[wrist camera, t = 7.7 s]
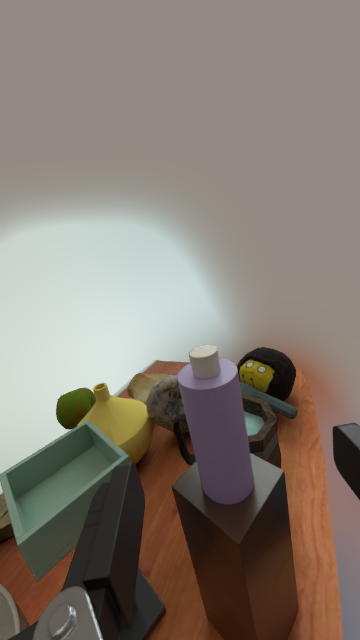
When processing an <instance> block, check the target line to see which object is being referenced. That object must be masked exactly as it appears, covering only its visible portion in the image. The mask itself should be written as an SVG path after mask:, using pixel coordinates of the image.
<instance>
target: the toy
mask: <svg viewBox="0 0 360 640" xmlns="http://www.w3.org/2000/svg"><path fill="white" fill-rule="evenodd" d="M237 369H238V375H239V382H240V389H241V393H244V394H247V395H250V396H254V397H257V398H260V399H263V400H266V401H267V402H268V404H269V406H270V407H271V409H272V410H273V411H275V412H277V413H279V414H281V415H283V416H285V417H287V418H289V419H294V418H295V417H296V416H297V412H298V411H297V409H296V408H295V407H294V406H292V405H290V404H288V403H285V402H284V401H285V400H286V399H287V398H288V397H289V395H290V393H291V391H292V388H293V384H294V381H295V377H296V369H295V367H294V365H293V363H292V361H291V360H290V359H289V358H288V357H287V356H286V355H285V354H284V353H282V352H279V351H277V350H274V349H270V348H264V347H262V348H257V349H255V350H253V351H251V352H249V353H247V354H246V355H245V356H244V357H243V358H242V359H241V360H240V362H239V363H238V366H237Z"/></svg>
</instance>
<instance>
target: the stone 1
mask: <svg viewBox="0 0 360 640" xmlns="http://www.w3.org/2000/svg"><path fill="white" fill-rule="evenodd" d="M167 376H170V375H167V374H151V373H150V374H143V373H140V374H136V375H135V376H134V377H133V379H132V380H131V381H130V383H129V385H128V387H127V393H128V395H129V396H131V397H132V398H133V399H134V400H139V401H141V402H142V403H144V404H145V405H146V401H147V398H148V395H149V393H150V390H151V388H152V386H153V385H154V384H155V383H157V382H158V381H160V380H162V379H163V378H165V377H167Z"/></svg>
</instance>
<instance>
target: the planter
mask: <svg viewBox="0 0 360 640" xmlns="http://www.w3.org/2000/svg"><path fill="white" fill-rule="evenodd" d="M28 627H30V625H29V623H28V622H27V620H26V618H25V617H24V615H23V613H22V612H21V610H20V608H19V607H18V605H17V603H16V602H15V600H14V598H13V597H12V595H11V594H10V593H9V591H8V590H7V589H6V588H4V587H3V586H2V585H1V584H0V640H8V639H10V638H11V637H13V636H15V635H16V634H18V633H20V632H21V631H23V630H25V629H26V628H28Z"/></svg>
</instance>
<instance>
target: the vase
mask: <svg viewBox="0 0 360 640" xmlns="http://www.w3.org/2000/svg"><path fill="white" fill-rule="evenodd" d="M93 390H94V394H95V397H96V403H95V405H94V406H93V407H92V409H91V410H90V411H89V412H88V414H87V415H86V416H85V417H84V418H83V419H82V420H81V421H80V423H79V424H78V425H77V426H79V425H80V424H82V423H83V422H85V421H87V420H89V421H91V422H92V423H93V424H94V425H95V426H96V427H97V428H98V429H99V430H101V431H102V432H103V433H104V434H105V435H106V436H107V437H108V438H110V439H111V440H112V441H113V442H114V443H115V444H116V445H117V446H118V447H120V448H121V449H122V450H123V451H124V452H125V453H126V454H127V455H128V456H129V458H130V461H131V463H134V464H137V463H138V462H139V461H140V460H141V458H142V457H143V456H144V454H145V453H146V451H147V449H148V447H149V445H150V442H151V437H152V431H153V426H154V425H153V421H152V420H151V418H150V417H149V416H148V414H147V407H146V405H145V404H144V403H142V402H141V401H139V400H134V399H126V398H118V397H113V396H111V395H110V394H109V391H108V388H107V385H106V383H101V384H98V385H96V386H94V388H93Z"/></svg>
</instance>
